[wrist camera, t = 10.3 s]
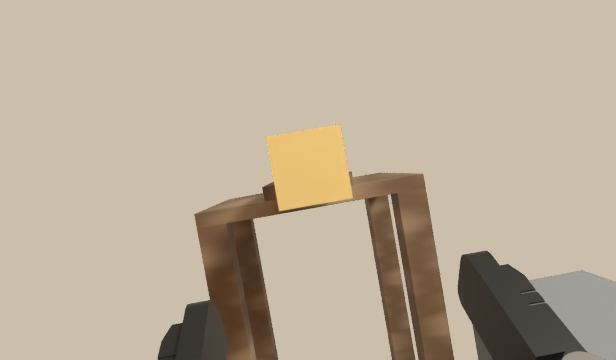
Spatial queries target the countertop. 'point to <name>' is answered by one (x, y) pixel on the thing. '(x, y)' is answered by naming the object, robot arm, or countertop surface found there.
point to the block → (578, 310)
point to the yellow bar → (309, 167)
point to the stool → (414, 252)
